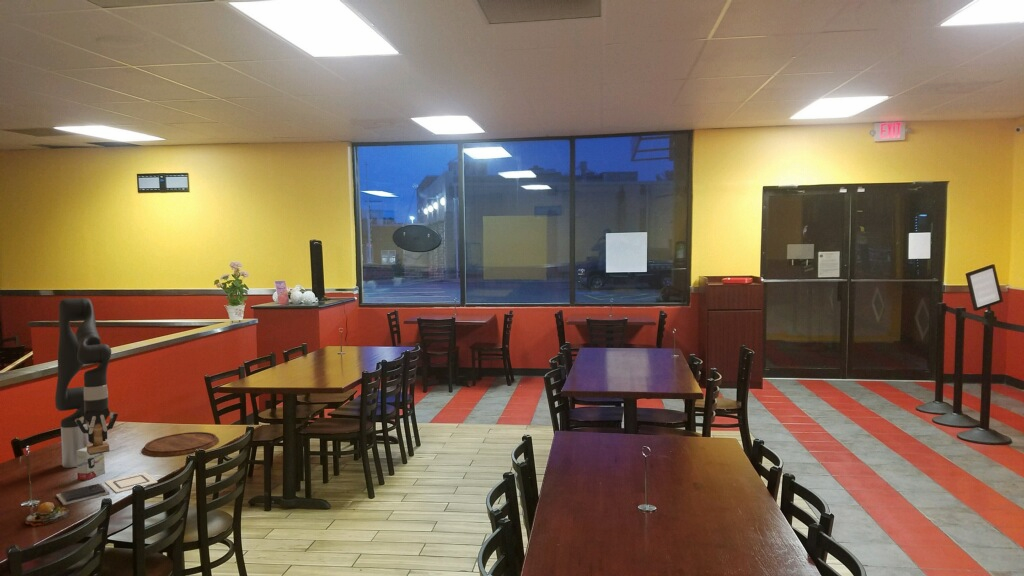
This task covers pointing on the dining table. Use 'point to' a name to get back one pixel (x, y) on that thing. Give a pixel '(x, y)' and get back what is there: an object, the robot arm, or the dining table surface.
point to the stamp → (98, 441)
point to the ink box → (89, 464)
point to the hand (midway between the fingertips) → (97, 441)
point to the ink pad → (82, 494)
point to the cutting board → (180, 444)
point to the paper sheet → (130, 482)
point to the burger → (47, 514)
